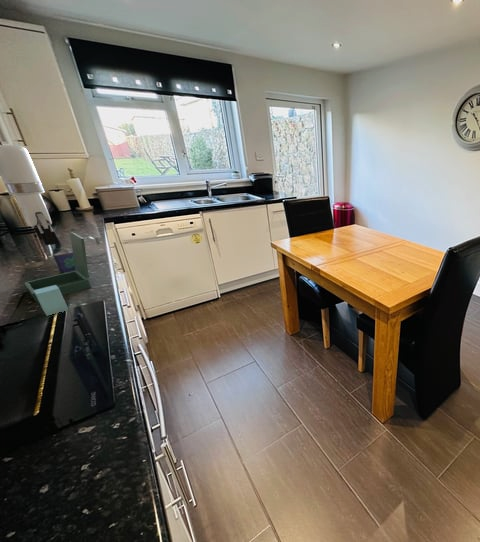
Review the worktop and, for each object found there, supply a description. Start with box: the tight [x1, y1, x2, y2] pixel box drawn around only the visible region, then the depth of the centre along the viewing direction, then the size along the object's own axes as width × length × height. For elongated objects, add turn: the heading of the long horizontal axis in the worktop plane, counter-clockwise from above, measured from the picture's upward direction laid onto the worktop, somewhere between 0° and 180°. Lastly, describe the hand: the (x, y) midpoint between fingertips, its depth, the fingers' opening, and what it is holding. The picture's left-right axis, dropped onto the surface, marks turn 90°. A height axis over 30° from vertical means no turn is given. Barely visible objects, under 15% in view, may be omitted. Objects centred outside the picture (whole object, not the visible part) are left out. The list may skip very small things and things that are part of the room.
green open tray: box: [23, 270, 92, 304], centre depth 107 cm, size 15×15×4 cm
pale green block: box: [33, 285, 70, 317], centre depth 93 cm, size 5×4×8 cm
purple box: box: [53, 247, 89, 274], centre depth 123 cm, size 9×3×11 cm, turn 148°
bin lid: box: [69, 231, 97, 280], centre depth 112 cm, size 16×15×5 cm
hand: (49, 241), depth 94 cm, fingers open, 9 cm apart
